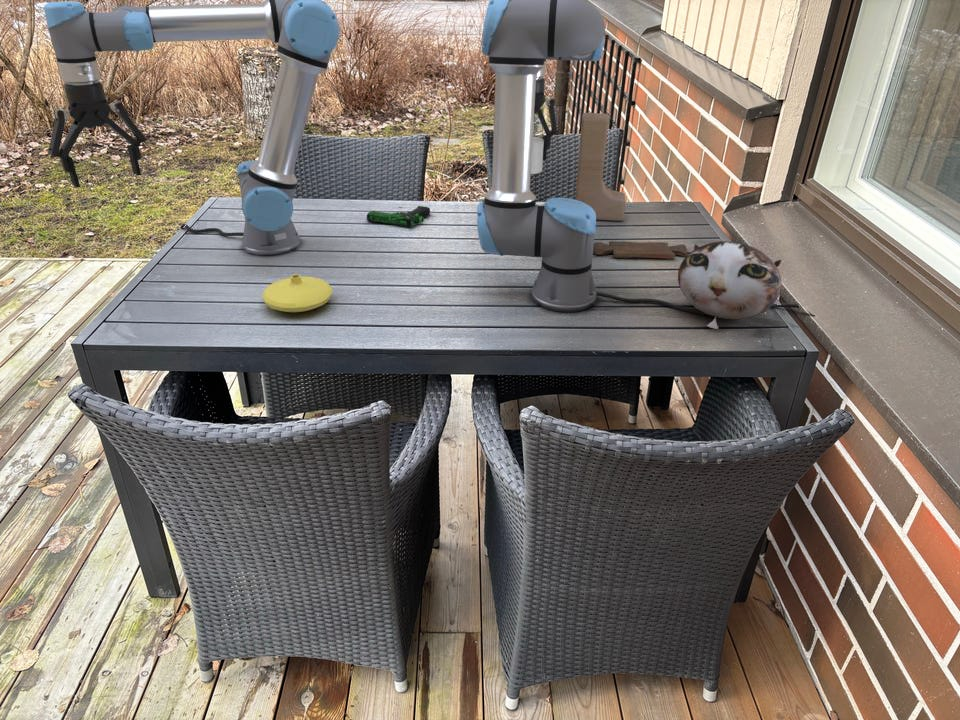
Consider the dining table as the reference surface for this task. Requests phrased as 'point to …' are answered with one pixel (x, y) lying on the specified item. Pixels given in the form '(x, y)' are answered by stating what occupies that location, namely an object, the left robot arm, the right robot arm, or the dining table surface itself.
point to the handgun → (400, 217)
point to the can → (537, 155)
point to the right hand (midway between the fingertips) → (527, 159)
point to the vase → (297, 294)
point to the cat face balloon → (729, 280)
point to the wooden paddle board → (639, 249)
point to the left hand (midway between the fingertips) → (107, 180)
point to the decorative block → (596, 170)
